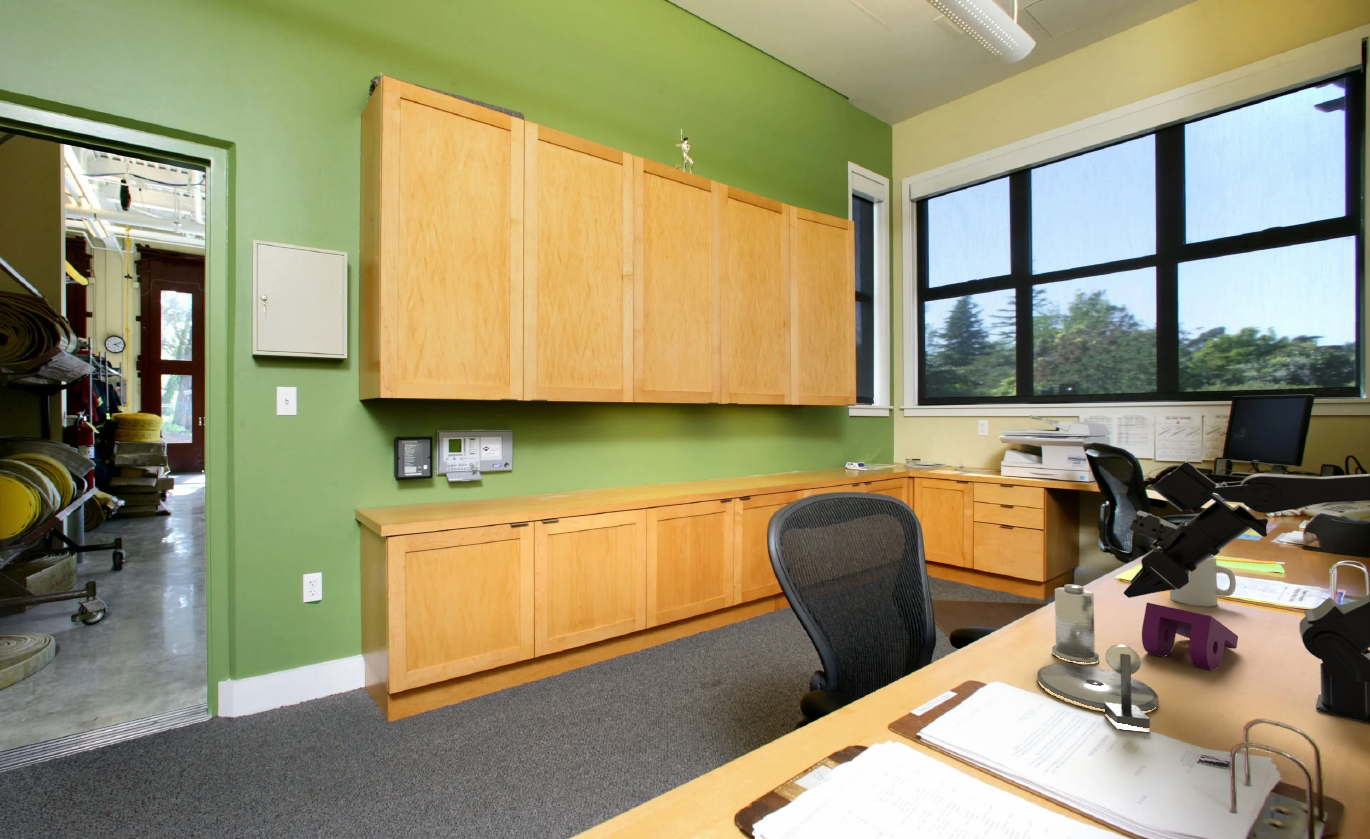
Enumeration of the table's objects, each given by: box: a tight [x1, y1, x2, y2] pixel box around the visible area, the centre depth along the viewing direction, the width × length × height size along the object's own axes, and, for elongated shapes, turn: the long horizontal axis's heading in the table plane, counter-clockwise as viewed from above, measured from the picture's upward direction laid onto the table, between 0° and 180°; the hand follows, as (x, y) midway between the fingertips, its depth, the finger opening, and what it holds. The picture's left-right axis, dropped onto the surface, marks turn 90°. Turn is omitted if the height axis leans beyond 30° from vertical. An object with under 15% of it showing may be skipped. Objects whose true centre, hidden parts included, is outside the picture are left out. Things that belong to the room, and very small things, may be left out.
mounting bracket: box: [1141, 602, 1239, 671], centre depth 110 cm, size 10×8×18 cm
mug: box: [1169, 555, 1237, 608], centre depth 139 cm, size 12×8×11 cm
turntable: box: [1036, 663, 1159, 711], centre depth 96 cm, size 16×16×1 cm
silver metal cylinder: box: [1051, 583, 1100, 663], centre depth 109 cm, size 7×7×13 cm
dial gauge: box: [1104, 643, 1151, 729], centre depth 85 cm, size 4×4×11 cm
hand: (1129, 589), depth 105 cm, fingers open, 9 cm apart
